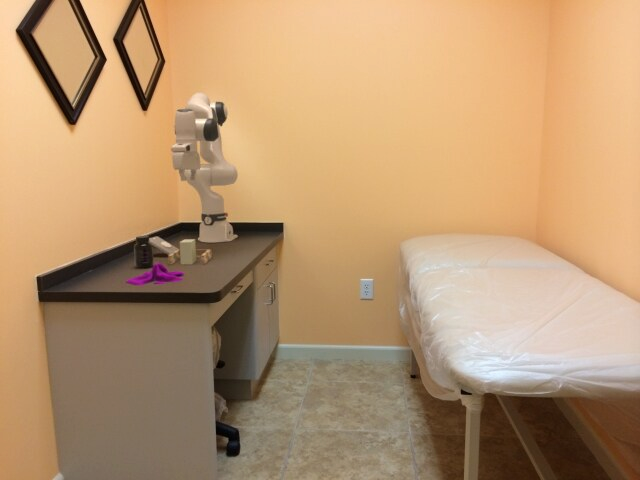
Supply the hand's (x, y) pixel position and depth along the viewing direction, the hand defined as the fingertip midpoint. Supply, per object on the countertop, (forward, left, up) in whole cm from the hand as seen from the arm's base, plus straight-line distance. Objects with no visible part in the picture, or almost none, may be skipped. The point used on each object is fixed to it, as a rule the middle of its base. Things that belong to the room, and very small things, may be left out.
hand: (188, 180), depth 214 cm
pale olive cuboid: (+15, +7, -33) cm, 37 cm away
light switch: (+4, -11, -33) cm, 35 cm away
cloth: (+42, +12, -33) cm, 55 cm away
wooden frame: (+13, +6, -32) cm, 35 cm away
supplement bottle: (+26, -6, -33) cm, 42 cm away
